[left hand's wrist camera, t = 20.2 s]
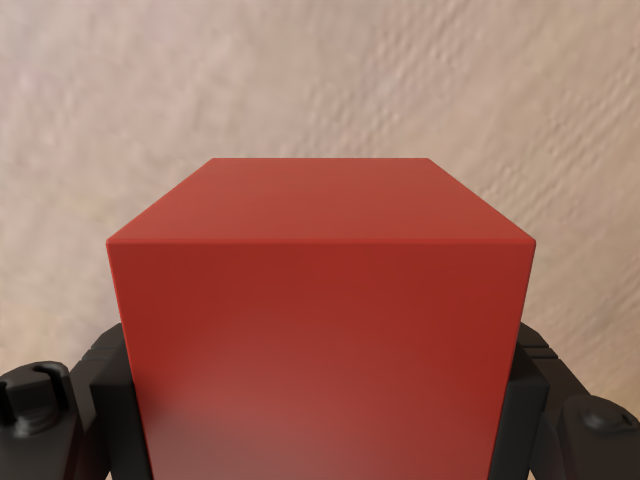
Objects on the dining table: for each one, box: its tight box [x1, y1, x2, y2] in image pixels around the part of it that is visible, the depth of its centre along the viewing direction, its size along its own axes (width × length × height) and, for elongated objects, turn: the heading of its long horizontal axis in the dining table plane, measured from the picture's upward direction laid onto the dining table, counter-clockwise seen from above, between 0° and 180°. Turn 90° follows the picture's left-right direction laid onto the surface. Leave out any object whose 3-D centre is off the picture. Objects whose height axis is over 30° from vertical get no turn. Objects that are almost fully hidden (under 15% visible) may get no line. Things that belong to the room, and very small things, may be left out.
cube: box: [106, 158, 536, 480], centre depth 12 cm, size 8×7×7 cm
